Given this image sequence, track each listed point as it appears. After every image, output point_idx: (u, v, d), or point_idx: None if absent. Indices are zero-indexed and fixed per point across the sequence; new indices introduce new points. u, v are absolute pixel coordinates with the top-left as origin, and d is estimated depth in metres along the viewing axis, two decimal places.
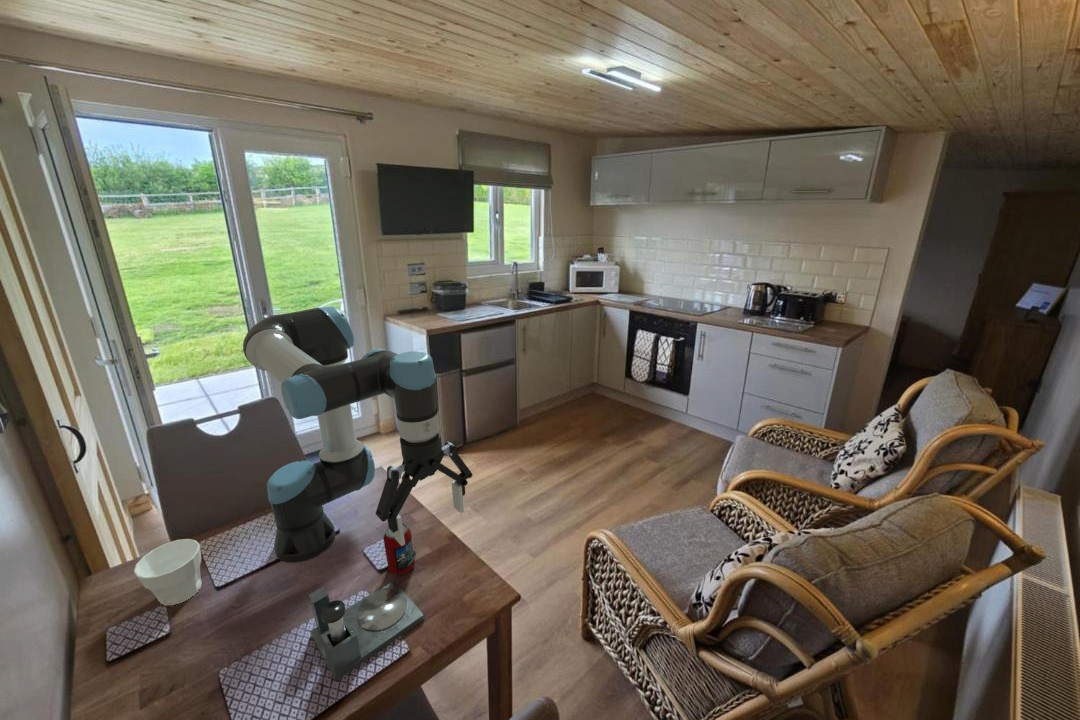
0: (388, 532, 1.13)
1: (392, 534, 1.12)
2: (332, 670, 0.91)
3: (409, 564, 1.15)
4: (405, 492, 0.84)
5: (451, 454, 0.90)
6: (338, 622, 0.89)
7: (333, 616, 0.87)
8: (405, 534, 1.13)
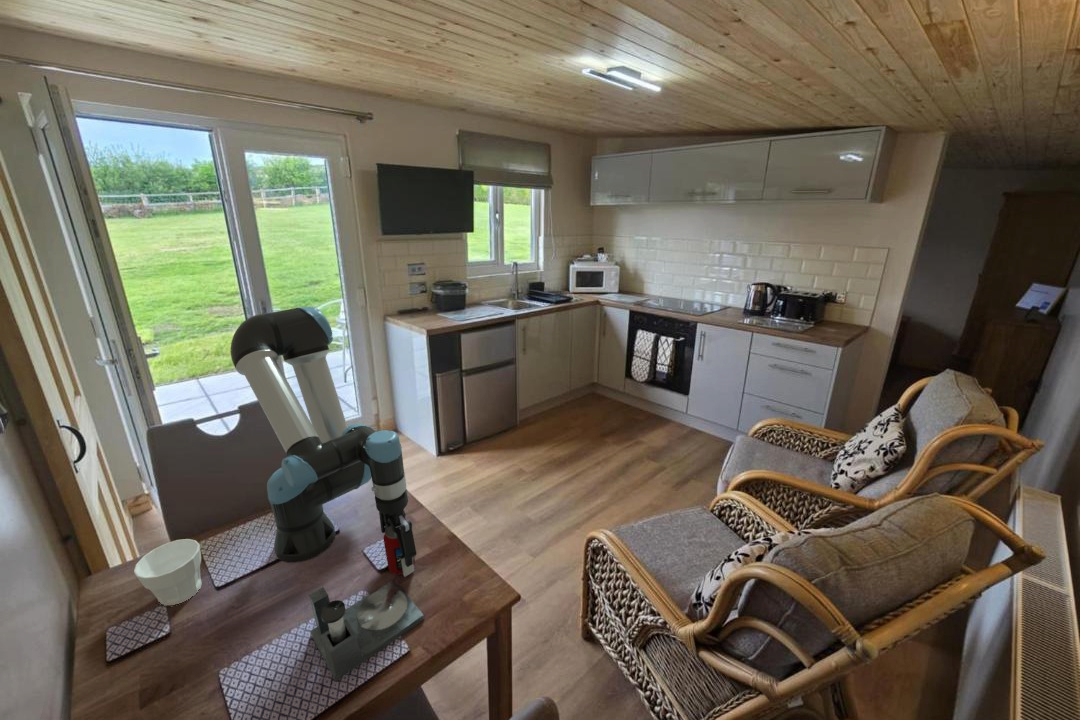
0: (388, 532, 1.13)
1: (392, 534, 1.12)
2: (332, 670, 0.91)
3: None
4: (385, 524, 1.15)
5: (400, 528, 1.08)
6: (338, 622, 0.89)
7: (333, 616, 0.87)
8: None
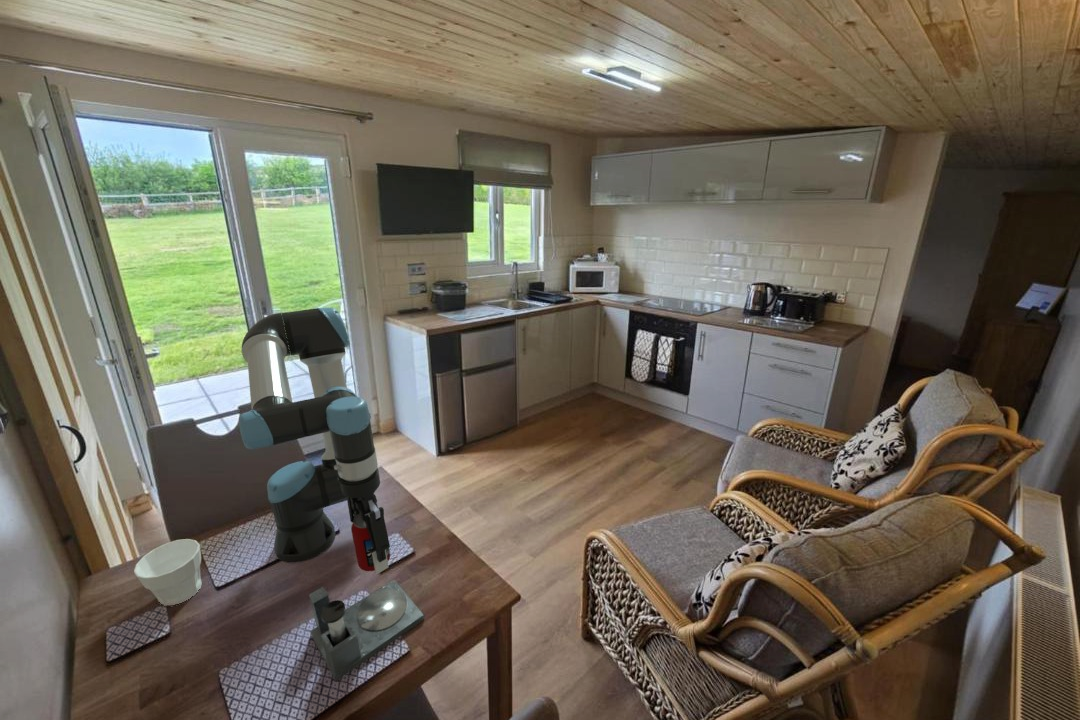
0: (357, 521, 0.94)
1: (361, 523, 0.94)
2: (332, 670, 0.91)
3: None
4: (354, 511, 0.96)
5: (369, 516, 0.89)
6: (338, 622, 0.89)
7: (333, 616, 0.87)
8: None
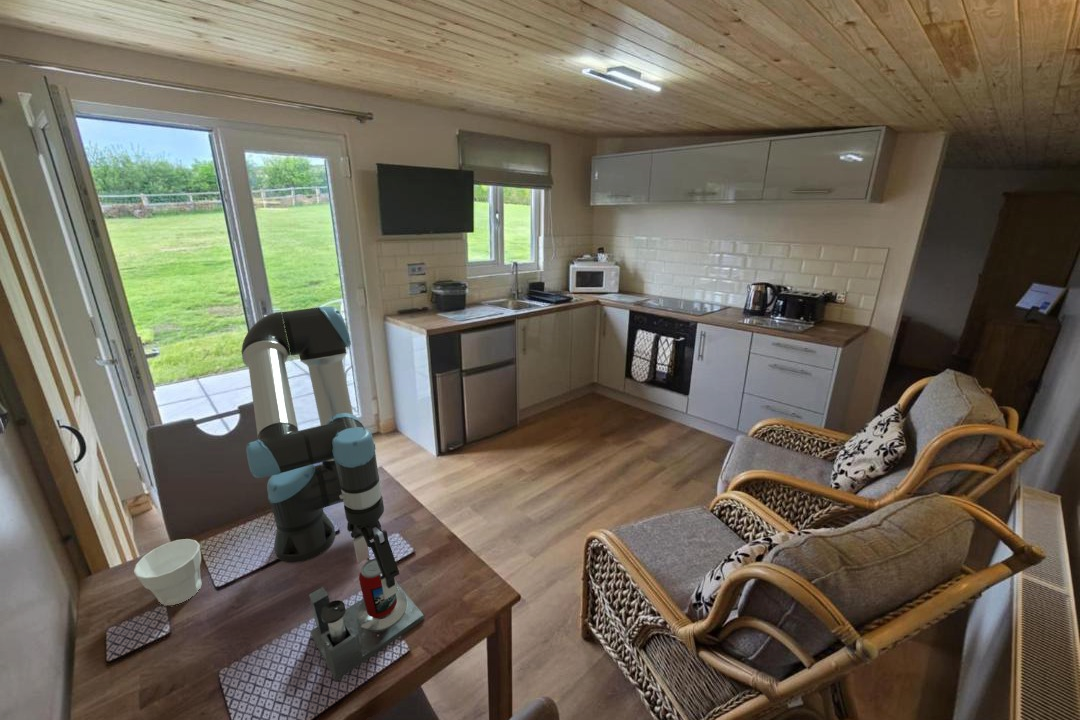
0: (364, 570, 0.99)
1: (368, 572, 0.98)
2: (332, 670, 0.91)
3: (390, 605, 1.01)
4: (354, 528, 0.99)
5: (373, 541, 0.91)
6: (338, 622, 0.89)
7: (333, 616, 0.87)
8: None
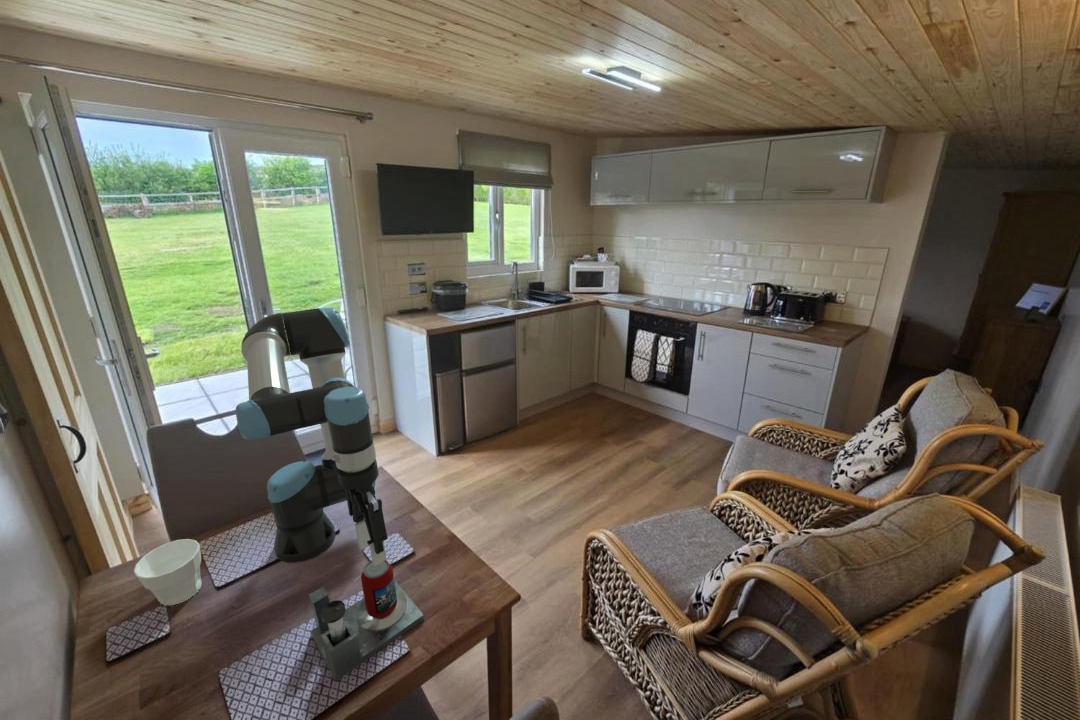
0: (366, 570, 0.99)
1: (371, 573, 0.98)
2: (332, 670, 0.91)
3: (390, 606, 1.01)
4: (352, 504, 0.95)
5: (367, 507, 0.89)
6: (338, 622, 0.89)
7: (333, 616, 0.87)
8: (386, 572, 0.99)
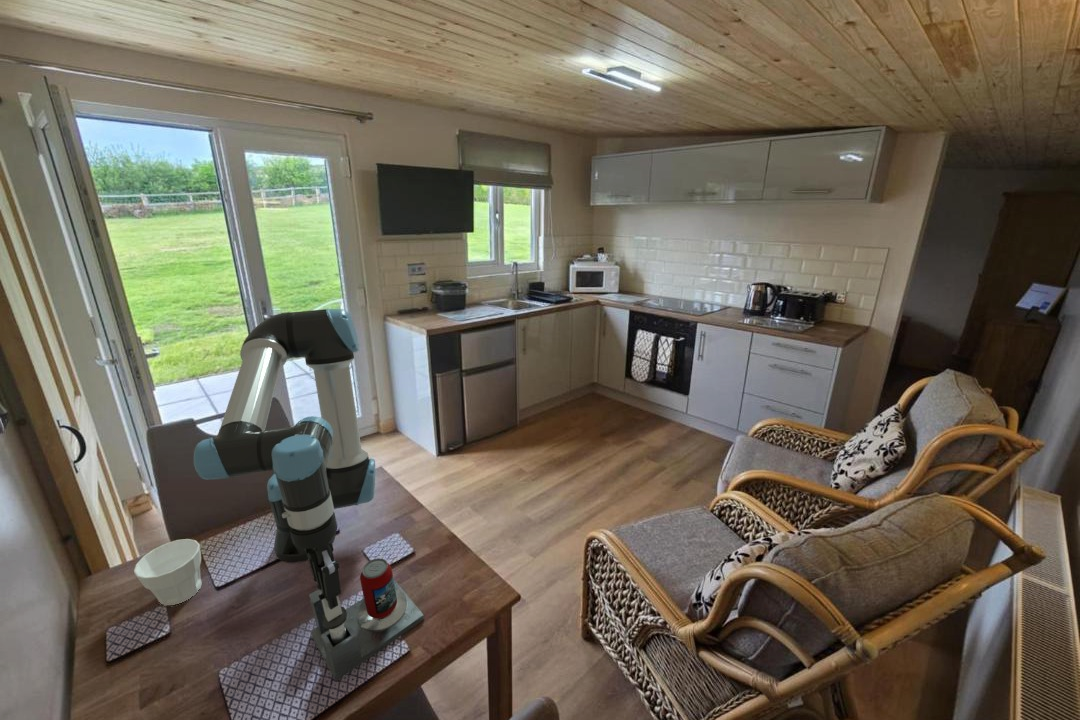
0: (365, 570, 0.99)
1: (370, 573, 0.98)
2: (332, 670, 0.91)
3: (390, 605, 1.01)
4: None
5: (322, 569, 0.80)
6: (339, 628, 0.89)
7: (334, 622, 0.88)
8: (385, 572, 0.99)
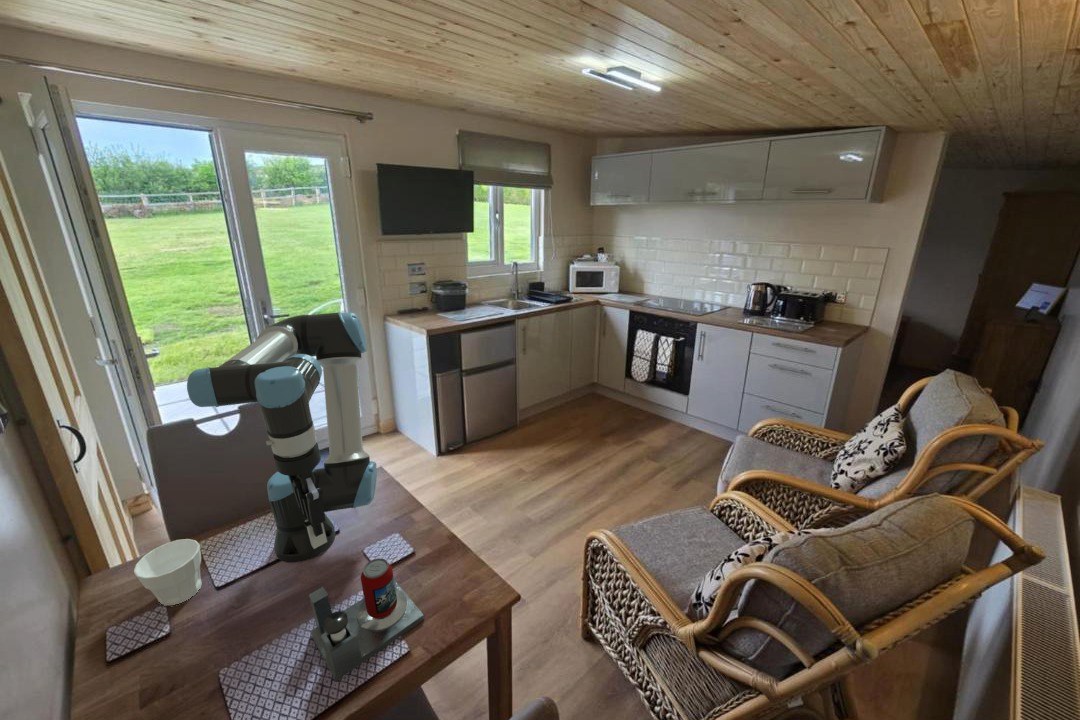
0: (366, 570, 0.99)
1: (371, 573, 0.98)
2: (332, 670, 0.91)
3: (390, 606, 1.01)
4: (298, 496, 0.89)
5: (306, 495, 0.84)
6: (340, 633, 0.90)
7: (336, 627, 0.88)
8: (386, 572, 0.99)
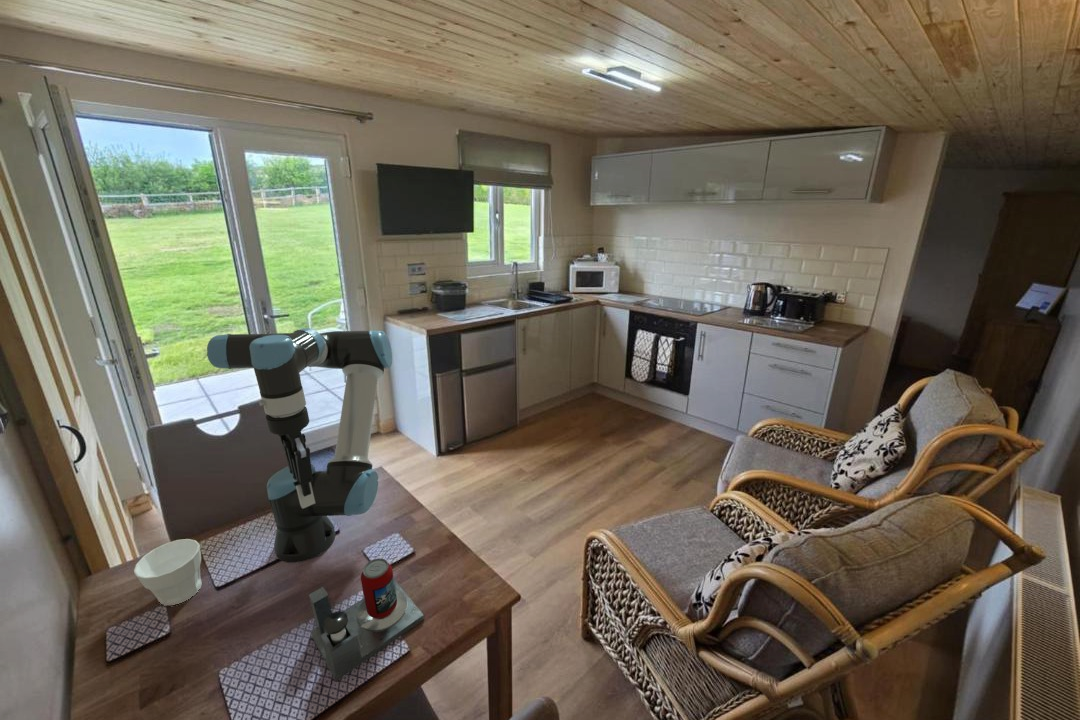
0: (366, 570, 0.99)
1: (370, 573, 0.98)
2: (332, 670, 0.91)
3: (390, 606, 1.01)
4: (288, 457, 0.97)
5: (294, 453, 0.92)
6: (340, 633, 0.90)
7: (336, 627, 0.88)
8: (385, 572, 0.99)
